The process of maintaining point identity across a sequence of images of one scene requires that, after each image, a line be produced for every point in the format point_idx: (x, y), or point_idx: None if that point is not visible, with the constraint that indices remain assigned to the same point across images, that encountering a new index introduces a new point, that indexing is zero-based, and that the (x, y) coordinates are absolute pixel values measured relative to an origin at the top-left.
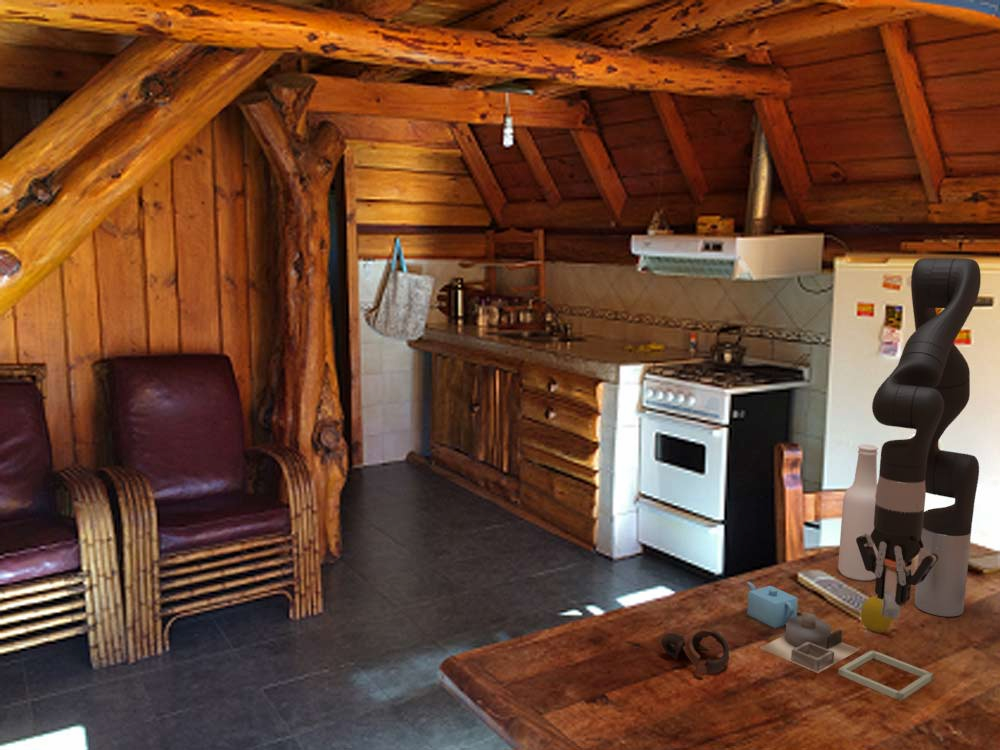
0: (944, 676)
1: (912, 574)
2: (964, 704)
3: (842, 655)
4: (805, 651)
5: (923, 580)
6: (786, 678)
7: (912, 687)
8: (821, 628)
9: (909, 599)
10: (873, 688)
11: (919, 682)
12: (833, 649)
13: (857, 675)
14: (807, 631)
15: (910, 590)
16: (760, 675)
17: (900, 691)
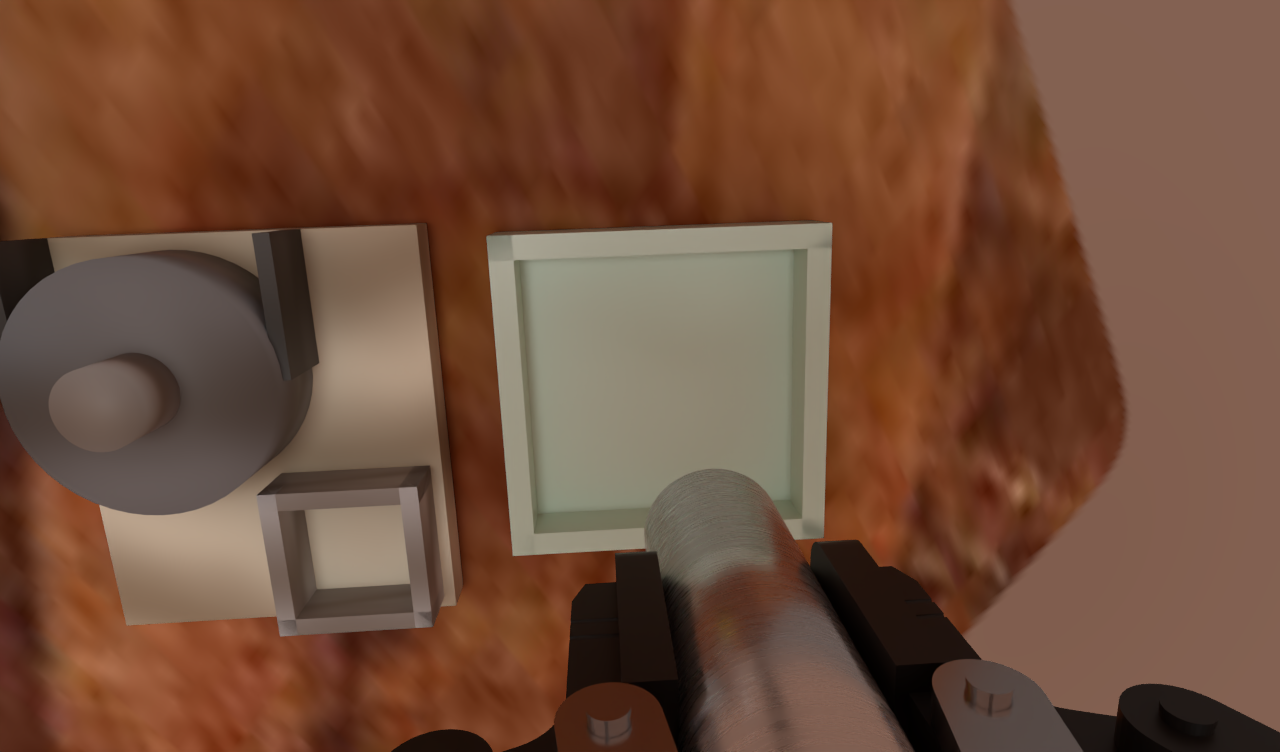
0: (799, 55)
1: (1076, 746)
2: (970, 251)
3: (408, 366)
4: (297, 525)
5: (1221, 706)
6: (372, 665)
7: (825, 437)
8: (206, 360)
9: (911, 580)
10: None
11: (826, 368)
12: (337, 344)
13: (605, 539)
14: (192, 459)
15: (961, 639)
16: (294, 728)
17: (806, 513)
